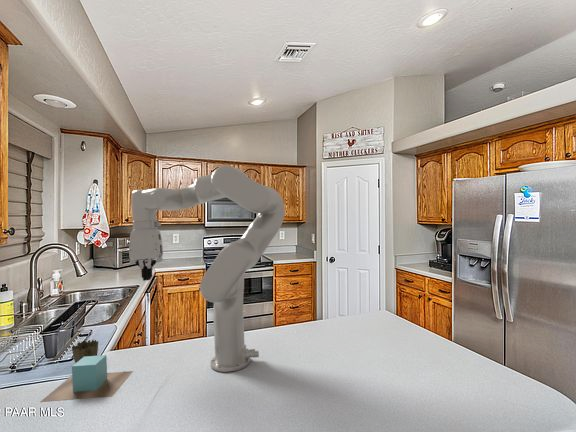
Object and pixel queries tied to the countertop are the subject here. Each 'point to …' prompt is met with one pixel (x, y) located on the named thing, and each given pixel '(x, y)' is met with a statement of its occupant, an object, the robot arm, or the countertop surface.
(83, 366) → the aqua foam cube
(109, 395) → the walnut board
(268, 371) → the countertop surface
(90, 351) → the olive patterned hollow container
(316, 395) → the countertop surface
